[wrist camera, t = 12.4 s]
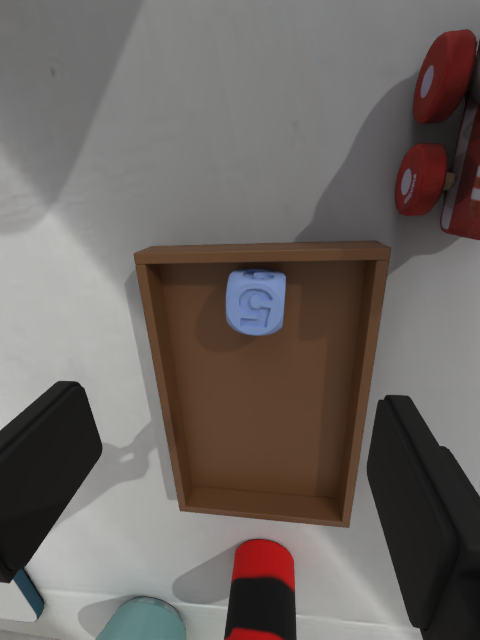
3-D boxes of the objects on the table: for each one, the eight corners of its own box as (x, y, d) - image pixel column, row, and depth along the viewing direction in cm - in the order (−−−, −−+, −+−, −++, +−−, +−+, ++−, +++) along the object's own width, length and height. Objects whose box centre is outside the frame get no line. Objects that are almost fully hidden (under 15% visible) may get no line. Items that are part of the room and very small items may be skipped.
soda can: (239, 532, 37) (221, 673, 26) (299, 545, 37) (306, 694, 26) (232, 566, 40) (213, 705, 29) (287, 579, 40) (290, 725, 29)
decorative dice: (233, 313, 25) (225, 334, 21) (234, 266, 23) (225, 279, 20) (281, 316, 24) (281, 338, 21) (285, 268, 23) (286, 282, 19)
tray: (151, 246, 24) (132, 253, 21) (376, 240, 22) (391, 247, 19) (188, 484, 35) (179, 511, 32) (342, 497, 33) (349, 528, 30)
